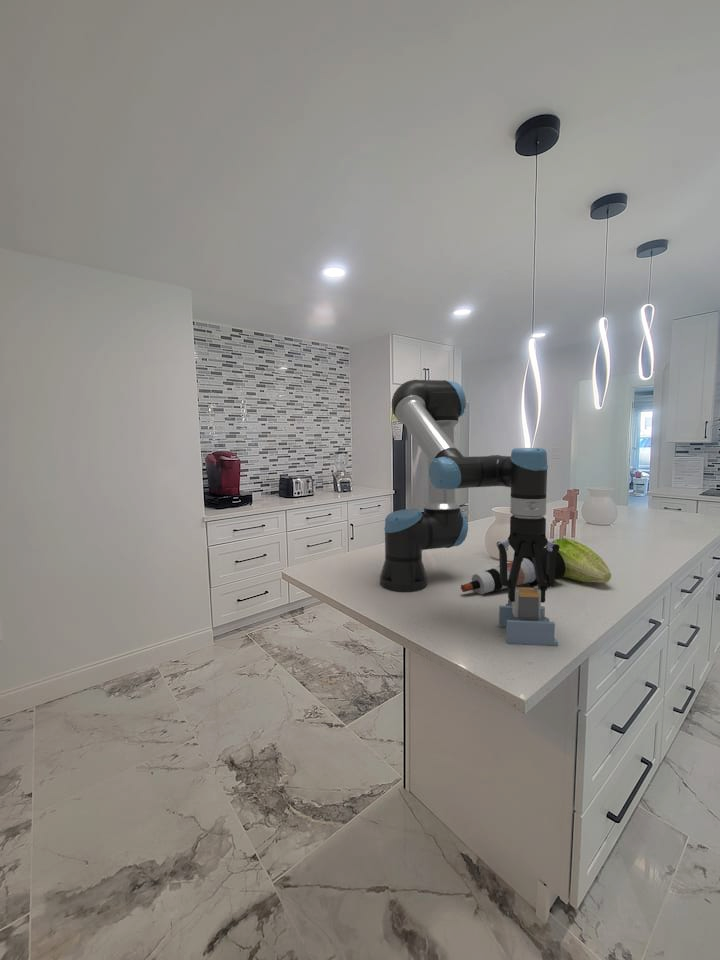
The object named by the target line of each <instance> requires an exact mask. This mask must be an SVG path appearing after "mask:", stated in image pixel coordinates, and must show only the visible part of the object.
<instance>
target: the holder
mask: <svg viewBox="0 0 720 960" xmlns="http://www.w3.org/2000/svg"><path fill="white" fill-rule="evenodd" d="M498 626H499V627H500V628H506V631H505V632H506V633H505V634H506V637H505V638H506V640H505V641H506V643H507V644H511V645H512V644H514V645H515V644H516V645H534V646H535V645H537V646H539V645H540V646H559V642H558V640H557V639H556V637H555V631H556V630H555V627H556V623H555V622H554V621H548V622H546V621H543V608H542V607H541V618H539V619H538V621H521V620H519V618H518V617H515V616H514V614H513V613H512V606H505V605H498Z"/></svg>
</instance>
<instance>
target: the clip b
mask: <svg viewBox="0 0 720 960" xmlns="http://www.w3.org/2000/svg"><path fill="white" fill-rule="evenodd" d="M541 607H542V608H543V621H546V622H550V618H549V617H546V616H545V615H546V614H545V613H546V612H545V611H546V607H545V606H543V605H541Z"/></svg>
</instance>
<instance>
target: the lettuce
mask: <svg viewBox="0 0 720 960" xmlns="http://www.w3.org/2000/svg"><path fill="white" fill-rule="evenodd" d="M552 542H554V543H556V544H557V545H559V547H560V548H559V550H558V552H559V553H560V554H561V556H562V557H563V560H564V562H565V567H566V568H565V574H564V575H563V576H562V577H563V578H566V579H570V580H574V581H578V582H582V583H608V582H609V581H610V580H611V579H612V573H611V570H610V569H609V567H608V565H607V564H606V562H605V561H604V560H603V558H602V557H600V556H599V555H598V554H597V553H596V552H595V551H593V550H592V549H591V548H589V546H587V545H586V544H582V543H580V542H578V541H577V540H576V541H575V540H572V539H570V538H567V537H565V538H558V539H554V540H553V541H552ZM544 548H546V546H545V547H544Z"/></svg>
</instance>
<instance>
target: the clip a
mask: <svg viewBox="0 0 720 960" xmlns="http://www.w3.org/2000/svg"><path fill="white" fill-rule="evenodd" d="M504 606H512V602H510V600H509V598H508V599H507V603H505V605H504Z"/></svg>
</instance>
